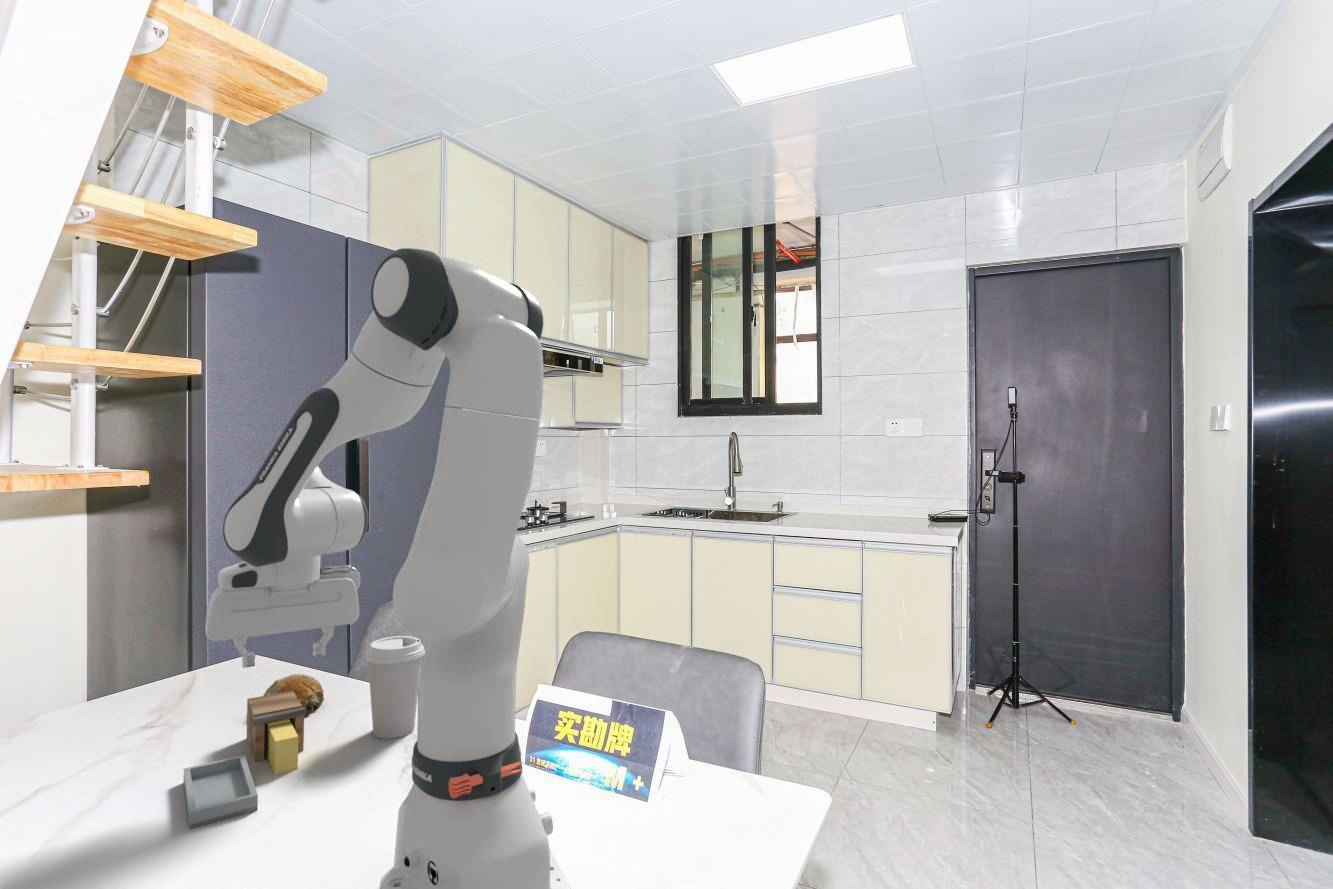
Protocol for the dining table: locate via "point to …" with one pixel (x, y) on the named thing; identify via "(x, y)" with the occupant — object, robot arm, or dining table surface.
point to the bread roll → (300, 690)
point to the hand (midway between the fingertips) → (284, 660)
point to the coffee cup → (394, 684)
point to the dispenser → (272, 718)
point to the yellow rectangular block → (281, 746)
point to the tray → (219, 791)
